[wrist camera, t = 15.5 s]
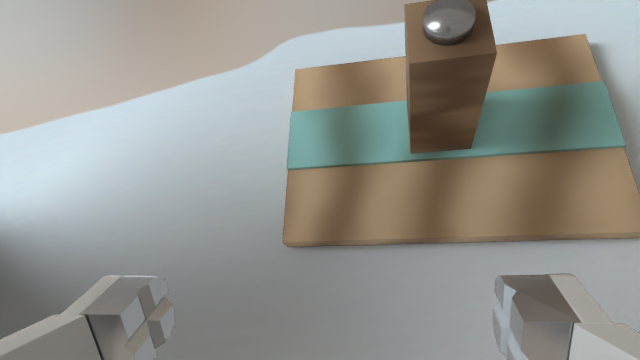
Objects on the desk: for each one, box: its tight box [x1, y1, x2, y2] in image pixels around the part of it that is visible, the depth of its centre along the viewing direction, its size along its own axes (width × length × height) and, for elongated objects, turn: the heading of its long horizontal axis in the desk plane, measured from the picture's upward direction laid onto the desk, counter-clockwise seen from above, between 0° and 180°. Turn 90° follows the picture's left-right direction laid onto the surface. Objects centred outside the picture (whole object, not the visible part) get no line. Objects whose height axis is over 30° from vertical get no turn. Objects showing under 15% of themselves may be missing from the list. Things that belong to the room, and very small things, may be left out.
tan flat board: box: [283, 34, 640, 247], centre depth 28 cm, size 22×15×2 cm
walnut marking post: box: [405, 0, 497, 153], centre depth 23 cm, size 4×4×10 cm
